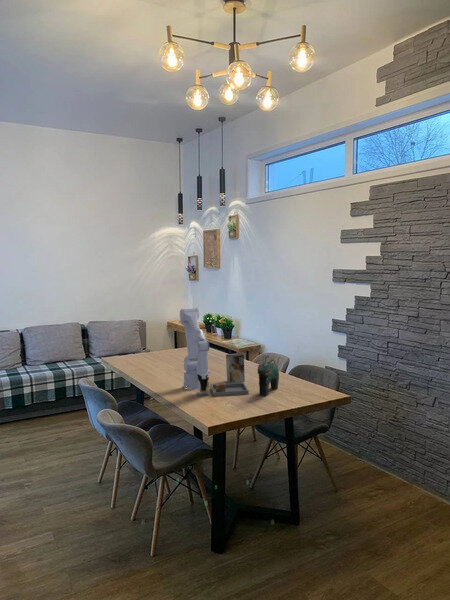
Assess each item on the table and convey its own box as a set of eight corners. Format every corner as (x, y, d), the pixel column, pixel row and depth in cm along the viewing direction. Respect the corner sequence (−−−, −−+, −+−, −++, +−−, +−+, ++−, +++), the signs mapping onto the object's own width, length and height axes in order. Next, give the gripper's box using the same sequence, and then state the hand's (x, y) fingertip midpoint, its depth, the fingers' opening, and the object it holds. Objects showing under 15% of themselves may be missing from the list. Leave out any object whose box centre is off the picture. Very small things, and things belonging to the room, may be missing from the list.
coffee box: (241, 380, 259) (240, 352, 257) (245, 382, 253) (244, 355, 251) (226, 381, 256) (225, 354, 255) (229, 384, 250) (228, 356, 249)
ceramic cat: (266, 398, 222) (265, 359, 220) (254, 396, 225) (254, 358, 224) (281, 388, 239) (280, 351, 238) (270, 387, 242) (269, 351, 241)
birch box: (200, 393, 228) (200, 382, 227) (199, 391, 232) (199, 380, 232) (209, 393, 228) (209, 381, 228) (208, 391, 233) (208, 379, 232)
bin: (213, 397, 226) (213, 392, 226) (211, 389, 241) (211, 384, 241) (248, 395, 229) (248, 390, 228) (244, 387, 243) (243, 382, 243)
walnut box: (216, 394, 229) (216, 385, 228) (216, 392, 233) (215, 383, 233) (225, 394, 229) (225, 384, 229) (224, 391, 234) (224, 382, 233)
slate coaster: (197, 397, 226) (197, 396, 226) (196, 393, 233) (196, 392, 233) (210, 396, 227) (210, 395, 227) (209, 392, 234) (209, 391, 234)
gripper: (211, 366, 222) (212, 392, 223) (209, 360, 237) (209, 385, 238) (197, 366, 221) (198, 393, 223) (195, 360, 236) (196, 385, 237)
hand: (203, 389), depth 230 cm, fingers closed on birch box, 4 cm apart
